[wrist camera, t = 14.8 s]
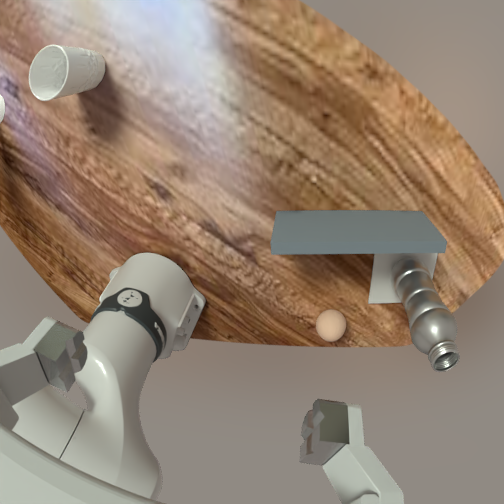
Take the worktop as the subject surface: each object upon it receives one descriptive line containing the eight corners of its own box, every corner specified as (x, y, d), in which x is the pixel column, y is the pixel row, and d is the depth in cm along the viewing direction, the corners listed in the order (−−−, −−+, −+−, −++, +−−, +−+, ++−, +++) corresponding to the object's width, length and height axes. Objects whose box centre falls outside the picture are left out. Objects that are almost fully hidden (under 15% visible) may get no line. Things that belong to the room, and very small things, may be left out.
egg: (321, 299, 52) (322, 322, 47) (349, 306, 52) (352, 329, 47) (311, 321, 55) (311, 345, 50) (338, 327, 55) (340, 351, 50)
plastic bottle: (406, 244, 45) (452, 332, 28) (432, 266, 46) (479, 354, 29) (379, 273, 48) (409, 369, 31) (406, 293, 49) (440, 385, 32)
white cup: (117, 60, 38) (77, 58, 29) (93, 102, 41) (52, 110, 32) (85, 39, 36) (44, 36, 27) (63, 80, 39) (21, 85, 31)
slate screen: (416, 246, 45) (438, 282, 37) (278, 247, 49) (273, 285, 40) (421, 211, 42) (447, 241, 34) (276, 211, 46) (270, 242, 37)
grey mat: (426, 299, 50) (426, 301, 49) (368, 302, 51) (368, 303, 51) (438, 244, 44) (439, 245, 44) (375, 244, 46) (375, 245, 46)
